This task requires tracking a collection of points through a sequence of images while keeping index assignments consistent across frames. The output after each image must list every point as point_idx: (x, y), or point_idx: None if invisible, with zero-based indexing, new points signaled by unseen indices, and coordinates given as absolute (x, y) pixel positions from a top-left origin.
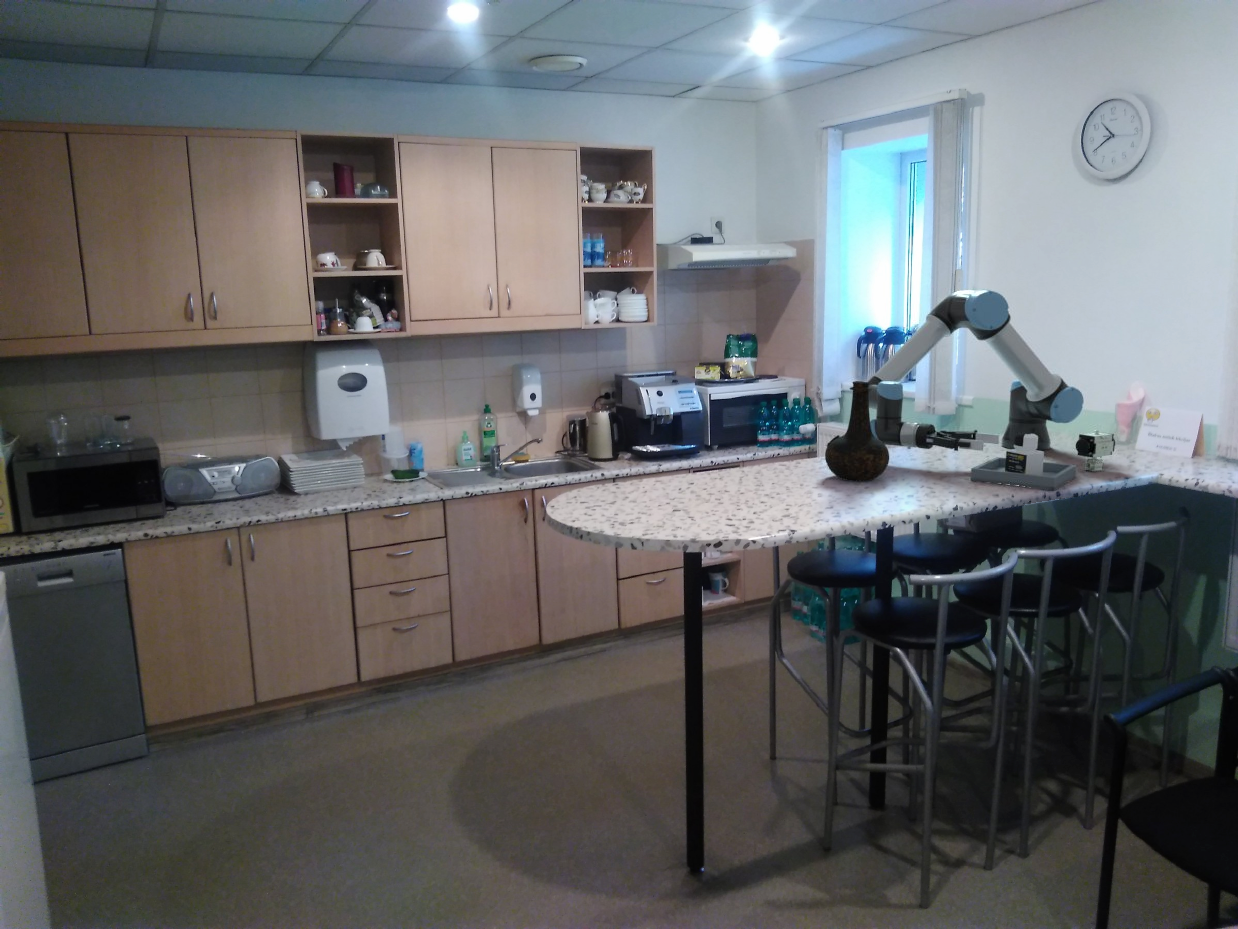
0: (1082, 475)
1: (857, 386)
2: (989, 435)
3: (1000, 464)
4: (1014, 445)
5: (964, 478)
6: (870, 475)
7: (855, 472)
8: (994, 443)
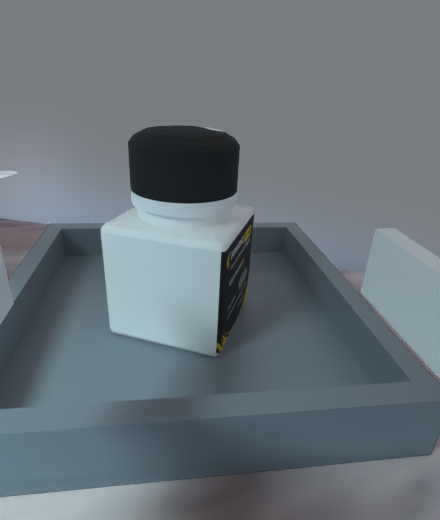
0: (10, 257)
1: None
2: None
3: None
4: (219, 203)
5: (418, 514)
6: None
7: None
8: (2, 317)
